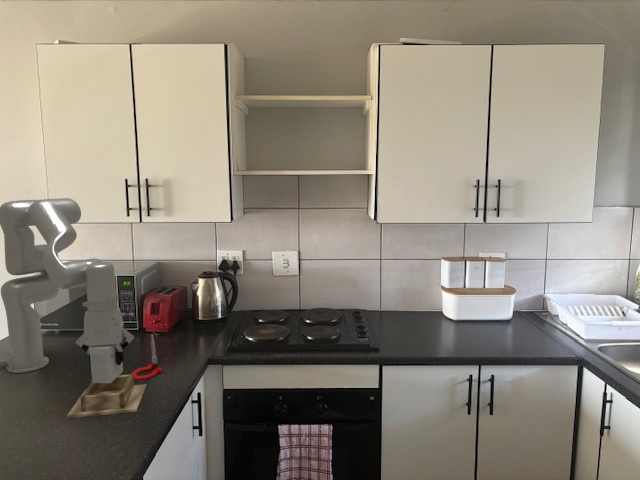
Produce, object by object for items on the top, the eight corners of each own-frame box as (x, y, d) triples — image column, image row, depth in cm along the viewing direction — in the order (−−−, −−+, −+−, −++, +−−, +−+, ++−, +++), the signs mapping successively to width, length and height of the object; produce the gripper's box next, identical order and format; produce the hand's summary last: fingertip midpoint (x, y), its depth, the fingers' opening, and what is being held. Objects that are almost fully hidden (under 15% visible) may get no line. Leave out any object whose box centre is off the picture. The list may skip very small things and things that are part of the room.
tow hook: (140, 383, 149) (165, 372, 157) (136, 346, 147) (161, 336, 155) (126, 377, 154) (150, 366, 162) (121, 340, 152) (146, 331, 159)
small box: (105, 371, 140) (102, 338, 138) (123, 371, 139) (121, 338, 138) (91, 383, 132) (88, 348, 130) (110, 383, 132) (108, 348, 130)
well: (67, 418, 127) (65, 401, 127) (85, 391, 143) (84, 376, 142) (136, 411, 131) (135, 395, 130) (146, 386, 146) (145, 371, 145)
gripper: (65, 310, 127) (70, 372, 130) (131, 306, 131) (135, 367, 133) (74, 303, 135) (79, 362, 137) (136, 299, 138) (140, 357, 140)
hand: (107, 364), depth 135 cm, fingers closed on small box, 6 cm apart
